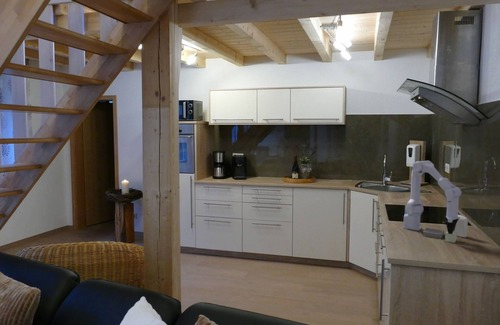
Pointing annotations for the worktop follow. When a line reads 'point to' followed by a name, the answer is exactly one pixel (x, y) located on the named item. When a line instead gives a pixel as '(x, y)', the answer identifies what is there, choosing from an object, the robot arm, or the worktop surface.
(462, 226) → the photo printer
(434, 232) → the grey block
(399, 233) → the worktop surface
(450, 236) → the green cube
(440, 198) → the worktop surface
